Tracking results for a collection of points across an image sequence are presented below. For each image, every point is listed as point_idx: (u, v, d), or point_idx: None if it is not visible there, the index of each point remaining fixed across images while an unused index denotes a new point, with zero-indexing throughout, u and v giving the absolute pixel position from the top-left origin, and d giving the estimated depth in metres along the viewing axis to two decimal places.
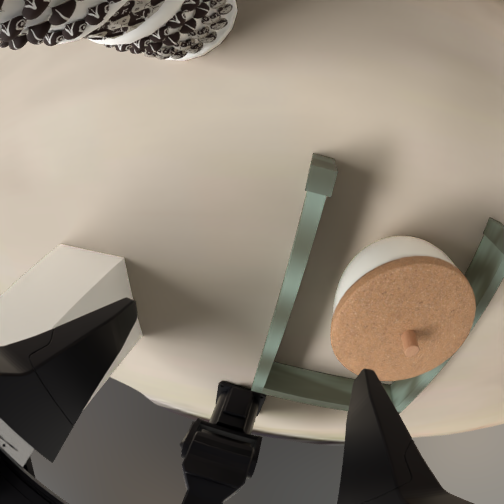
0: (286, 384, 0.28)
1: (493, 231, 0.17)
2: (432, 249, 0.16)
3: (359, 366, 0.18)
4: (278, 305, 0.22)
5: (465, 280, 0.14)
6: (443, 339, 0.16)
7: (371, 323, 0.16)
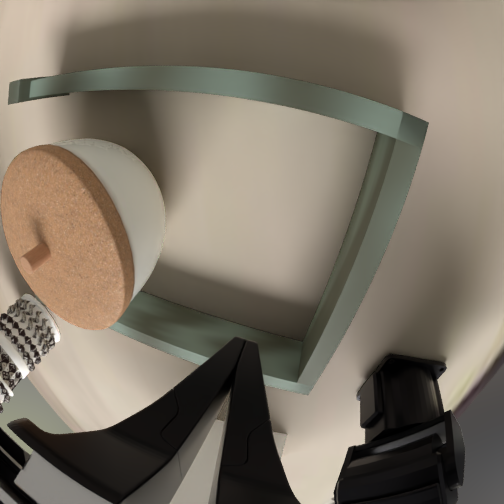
0: (309, 349, 0.17)
1: None
2: None
3: (102, 306, 0.12)
4: (139, 340, 0.19)
5: (1, 199, 0.12)
6: (33, 196, 0.10)
7: (52, 293, 0.13)
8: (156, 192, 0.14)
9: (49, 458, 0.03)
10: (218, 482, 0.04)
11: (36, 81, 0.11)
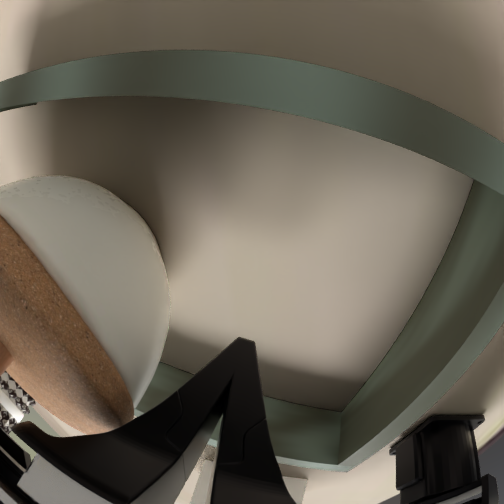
0: (356, 434, 0.12)
1: None
2: None
3: (93, 428, 0.07)
4: None
5: None
6: None
7: (28, 389, 0.08)
8: (153, 263, 0.09)
9: (54, 462, 0.03)
10: (213, 481, 0.04)
11: None
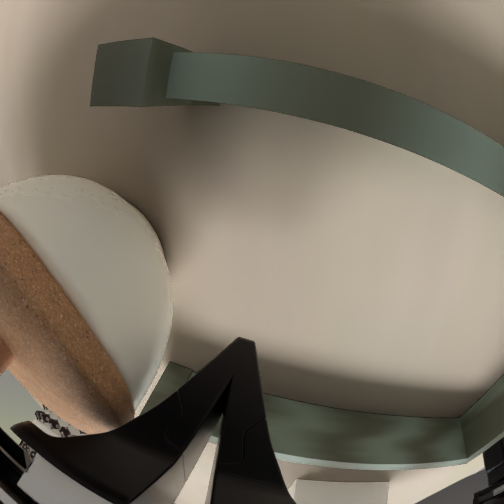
0: (484, 431, 0.11)
1: None
2: None
3: (93, 428, 0.07)
4: (322, 466, 0.13)
5: None
6: None
7: (29, 387, 0.08)
8: (156, 264, 0.09)
9: (54, 462, 0.03)
10: (214, 480, 0.04)
11: (201, 57, 0.05)
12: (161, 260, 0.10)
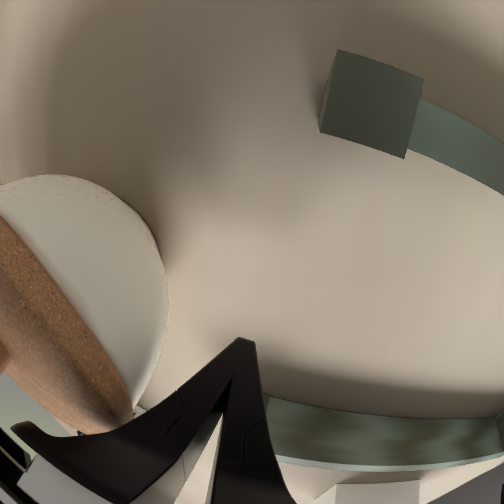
0: None
1: None
2: None
3: (92, 428, 0.07)
4: (393, 471, 0.12)
5: None
6: None
7: (27, 389, 0.08)
8: (152, 263, 0.09)
9: (54, 462, 0.03)
10: (214, 481, 0.04)
11: (435, 110, 0.04)
12: (157, 259, 0.10)
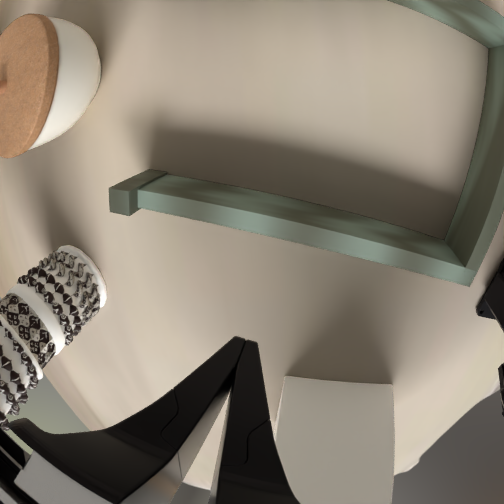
0: (472, 228, 0.14)
1: None
2: None
3: (29, 108, 0.11)
4: (288, 239, 0.16)
5: None
6: (7, 47, 0.09)
7: (0, 127, 0.12)
8: (91, 44, 0.13)
9: (49, 458, 0.03)
10: (218, 482, 0.04)
11: None
12: (95, 48, 0.14)
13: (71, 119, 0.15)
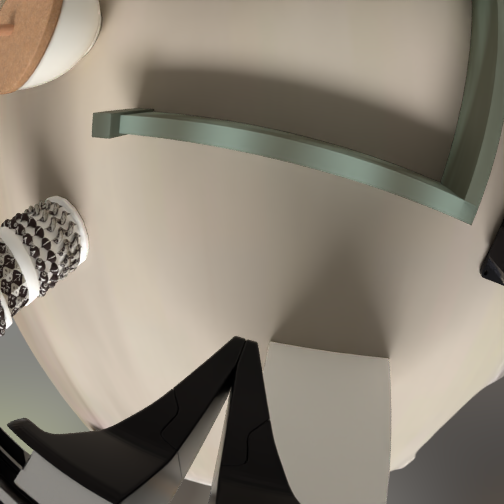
0: (468, 160, 0.12)
1: None
2: None
3: (30, 42, 0.09)
4: (266, 155, 0.14)
5: None
6: None
7: (2, 65, 0.10)
8: None
9: (49, 458, 0.03)
10: (218, 482, 0.04)
11: None
12: (97, 0, 0.12)
13: (67, 59, 0.14)
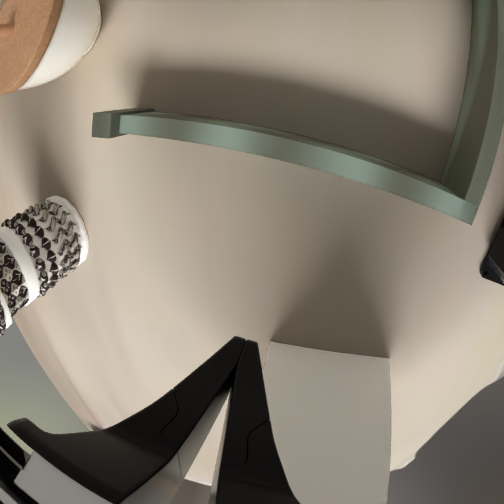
0: (468, 160, 0.12)
1: None
2: None
3: (30, 42, 0.09)
4: (266, 154, 0.14)
5: None
6: None
7: (2, 65, 0.10)
8: None
9: (49, 458, 0.03)
10: (218, 482, 0.04)
11: None
12: (97, 0, 0.12)
13: (68, 59, 0.14)
